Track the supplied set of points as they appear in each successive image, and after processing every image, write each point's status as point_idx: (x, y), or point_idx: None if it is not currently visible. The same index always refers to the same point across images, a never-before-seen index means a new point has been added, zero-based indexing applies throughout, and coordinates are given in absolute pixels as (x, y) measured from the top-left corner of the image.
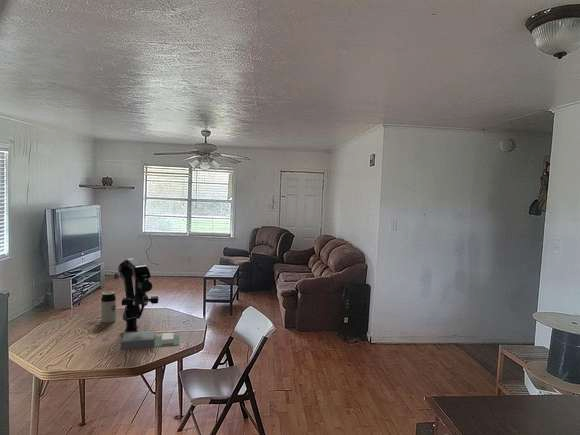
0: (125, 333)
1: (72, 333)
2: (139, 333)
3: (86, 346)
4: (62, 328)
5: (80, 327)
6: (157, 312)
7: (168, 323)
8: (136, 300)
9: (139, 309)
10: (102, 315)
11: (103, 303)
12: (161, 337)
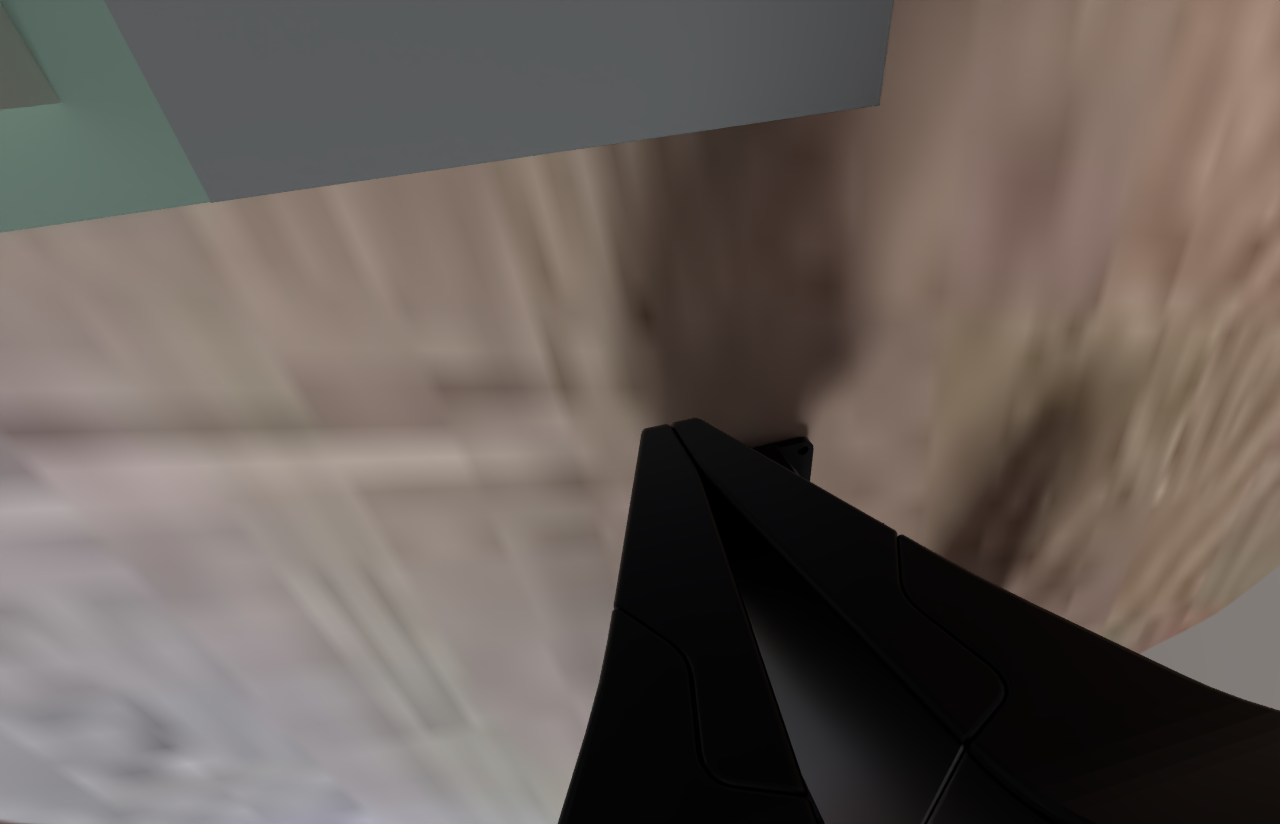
0: (855, 74)
1: (1254, 378)
2: (553, 24)
3: None
4: (1264, 479)
5: (1151, 505)
6: None
7: (351, 672)
8: None
9: (852, 617)
10: None
11: None
12: (100, 133)
